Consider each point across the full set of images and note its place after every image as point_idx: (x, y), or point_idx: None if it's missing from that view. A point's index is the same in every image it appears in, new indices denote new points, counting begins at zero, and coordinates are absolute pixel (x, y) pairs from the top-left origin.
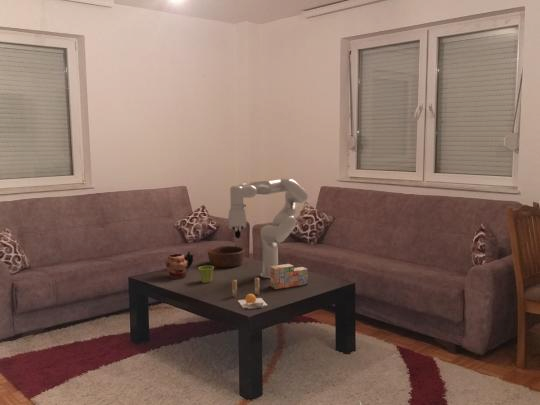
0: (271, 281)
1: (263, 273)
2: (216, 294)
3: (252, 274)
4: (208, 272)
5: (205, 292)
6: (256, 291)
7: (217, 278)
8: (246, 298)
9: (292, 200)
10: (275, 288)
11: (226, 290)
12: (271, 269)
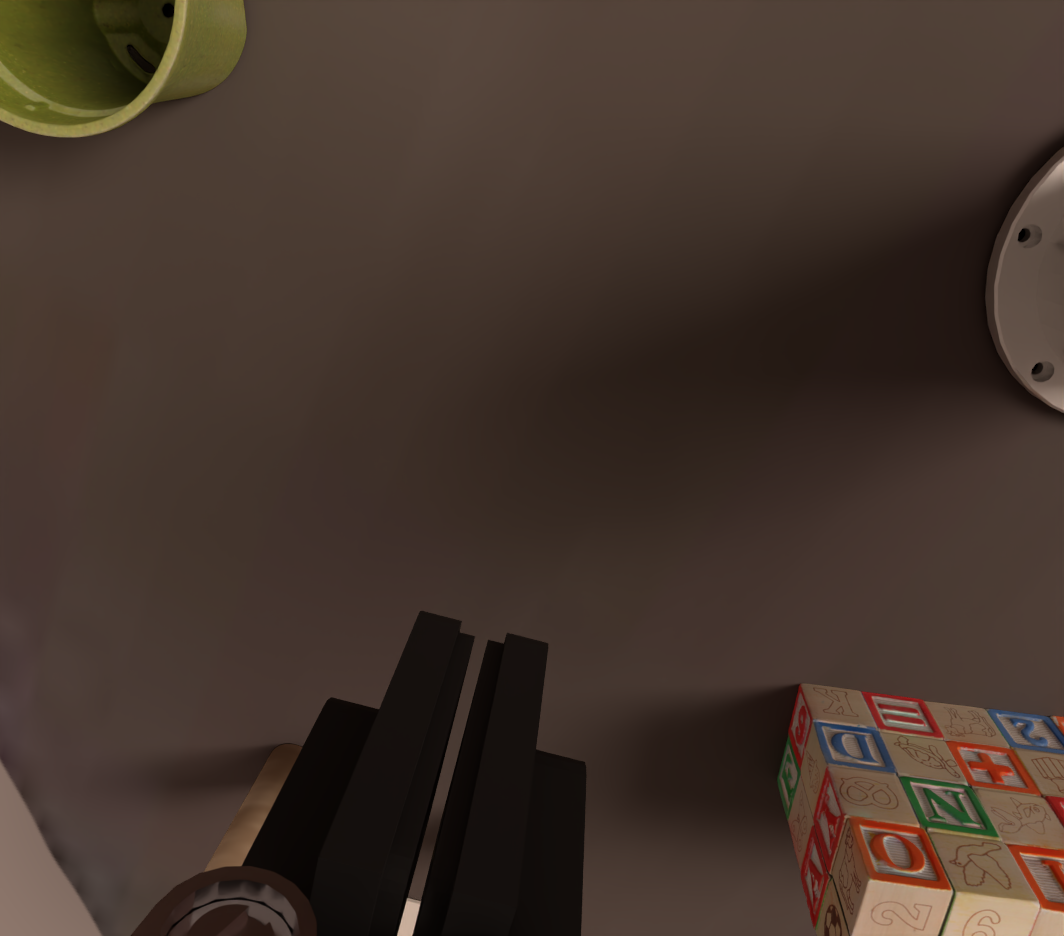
0: (808, 747)
1: (1053, 263)
2: (145, 612)
3: (985, 16)
4: (91, 112)
5: (51, 487)
6: None
7: None
8: None
9: None
10: (781, 787)
11: (288, 548)
12: (849, 876)
